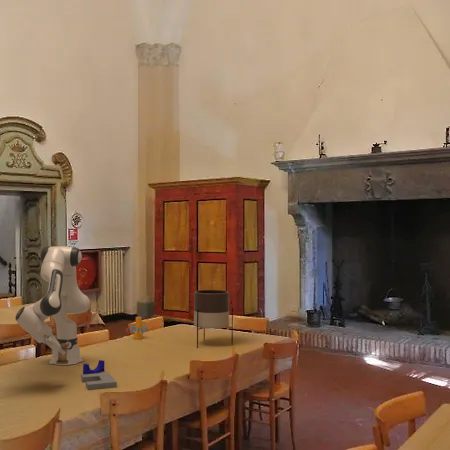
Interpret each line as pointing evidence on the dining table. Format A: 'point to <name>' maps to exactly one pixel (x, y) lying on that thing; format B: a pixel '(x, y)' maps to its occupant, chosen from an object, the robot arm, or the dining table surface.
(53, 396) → the dining table surface
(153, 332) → the dining table surface
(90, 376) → the notched board
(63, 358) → the bobbin
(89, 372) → the cable clip
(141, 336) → the orange post with rings
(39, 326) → the robot arm
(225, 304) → the planter
